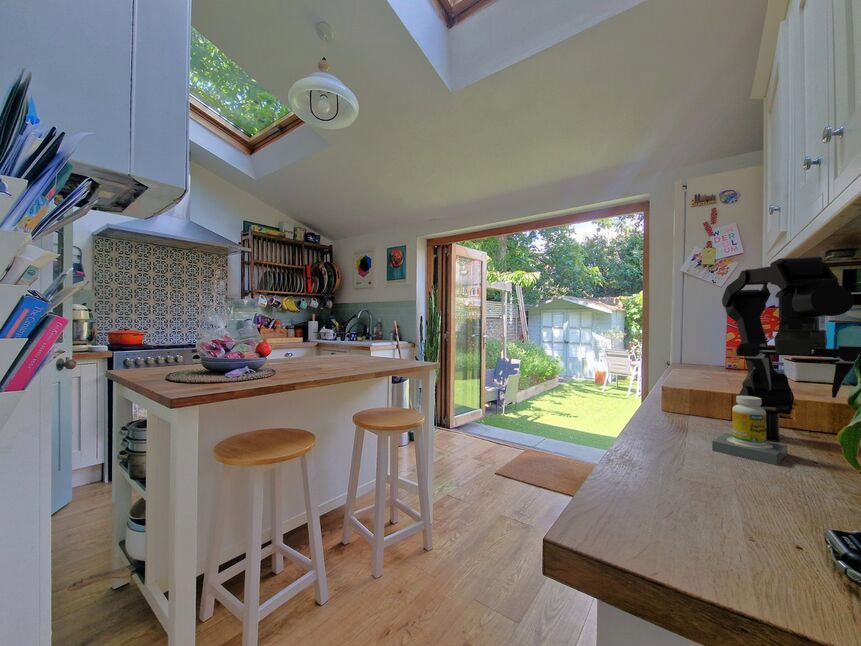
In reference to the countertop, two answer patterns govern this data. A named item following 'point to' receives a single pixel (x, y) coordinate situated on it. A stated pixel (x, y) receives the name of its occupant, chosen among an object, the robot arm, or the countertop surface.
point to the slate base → (750, 449)
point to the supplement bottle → (749, 421)
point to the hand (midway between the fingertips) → (799, 394)
